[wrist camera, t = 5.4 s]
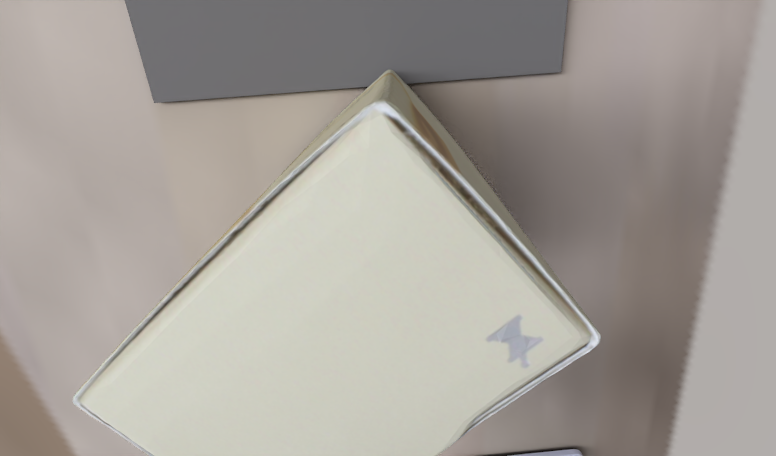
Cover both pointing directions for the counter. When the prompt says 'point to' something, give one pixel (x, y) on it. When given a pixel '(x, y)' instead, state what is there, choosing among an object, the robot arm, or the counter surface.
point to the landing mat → (338, 43)
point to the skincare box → (348, 308)
